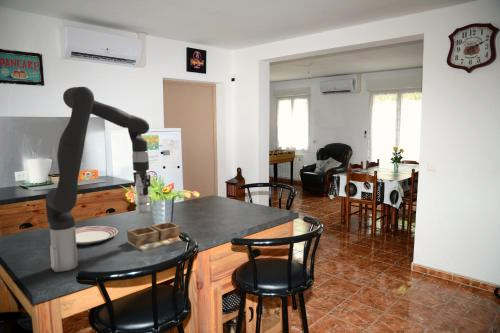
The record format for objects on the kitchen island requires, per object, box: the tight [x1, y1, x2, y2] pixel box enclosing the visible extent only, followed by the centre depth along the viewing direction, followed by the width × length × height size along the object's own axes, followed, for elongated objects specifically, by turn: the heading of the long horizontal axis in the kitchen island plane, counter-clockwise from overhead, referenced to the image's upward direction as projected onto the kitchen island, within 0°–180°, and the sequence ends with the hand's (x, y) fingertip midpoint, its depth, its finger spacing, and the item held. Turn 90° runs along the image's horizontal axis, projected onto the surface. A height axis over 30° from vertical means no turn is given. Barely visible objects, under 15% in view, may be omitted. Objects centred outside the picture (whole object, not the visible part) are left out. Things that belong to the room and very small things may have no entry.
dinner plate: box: [75, 225, 119, 245], centre depth 185 cm, size 27×27×3 cm
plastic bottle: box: [134, 174, 151, 214], centre depth 176 cm, size 6×7×20 cm
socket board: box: [125, 221, 183, 252], centre depth 180 cm, size 24×18×6 cm
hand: (142, 193), depth 176 cm, fingers closed on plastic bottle, 6 cm apart
